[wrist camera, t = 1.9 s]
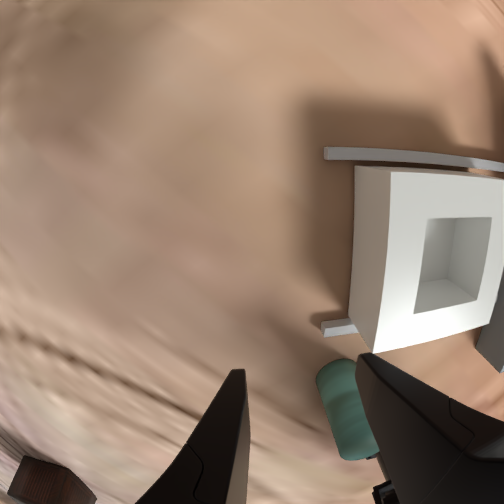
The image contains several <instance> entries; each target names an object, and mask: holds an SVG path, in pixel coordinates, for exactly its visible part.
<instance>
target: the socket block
mask: <svg viewBox="0 0 504 504" xmlns="http://www.w3.org/2000/svg"><path fill="white" fill-rule="evenodd" d="M503 268H504V179H501V178H497V177H492V176H487V175H482V174H477V173H472V172H463V171H452V170H440V169H426V168H410V167H388V166H355V204H354V238H353V258H352V273H351V287H350V298H349V309H348V316H349V318H350V319H351V321H352V322H353V324H354V325H355V327H356V329H357V330H358V332H359V333H360V335H361V336H362V338H363V339H364V341H365V343H366V344H367V346H368V347H369V349H370V350H371V352H372V353H379V352H384V351H388V350H393V349H398V348H402V347H407V346H411V345H415V344H419V343H423V342H427V341H431V340H435V339H439V338H443V337H446V336H450V335H453V334H457V333H460V332H464V331H467V330H470V329H474V328H477V327H480V326H483V325H486V324H489V321H490V318H491V315H492V311H493V308H494V304H495V301H496V297H497V293H498V289H499V285H500V281H501V277H502V272H503Z"/></svg>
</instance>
